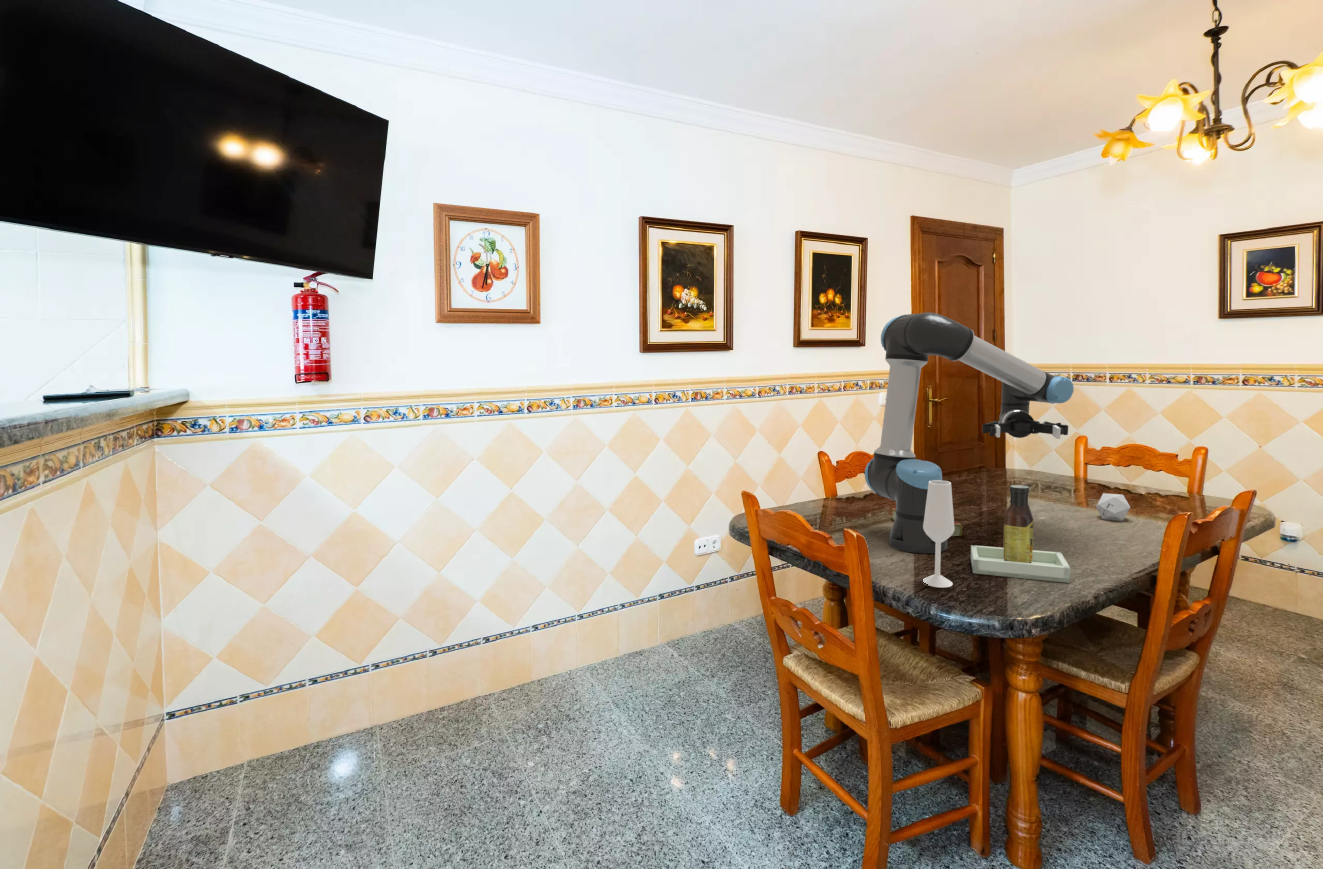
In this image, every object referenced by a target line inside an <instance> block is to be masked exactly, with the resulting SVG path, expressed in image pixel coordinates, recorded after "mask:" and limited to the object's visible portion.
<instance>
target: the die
mask: <svg viewBox="0 0 1323 869" xmlns="http://www.w3.org/2000/svg"><path fill="white" fill-rule="evenodd" d="M1095 508H1096V510H1097V511H1098V513H1099V515H1100V517H1101V519H1102V520H1106V521H1120V522H1123V521H1124V520H1125V519H1126V517H1127V515H1128V512H1129V511H1130V509H1131V506H1130V504H1129V503H1128V500H1127V499H1126V497H1125V496H1124V494H1119V493H1117V494H1116V493H1104V492H1103V493H1102V495H1101V496H1100V498H1099V500H1098V502H1097V504H1096V506H1095Z"/></svg>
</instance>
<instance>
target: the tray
mask: <svg viewBox="0 0 1323 869" xmlns="http://www.w3.org/2000/svg"><path fill="white" fill-rule="evenodd" d="M1003 552H1004V547H999V546H998V547H996V546H986V545H976V544H974V545H972V544H970V564H971V569H972V574H977V575H984V576H985V575H988V576H998V577H1005V578H1016V579H1017V578H1018V579H1025V580H1026V579H1027V580H1036V581H1045V582H1046V581H1048V582H1056V583H1065V584H1066V583H1067V584H1070V583H1071V582H1070V581H1071V567H1070V565H1069V563H1068V561H1067V560H1066V558H1065V557H1064V556H1063V554H1062V552H1058V551H1047V550H1046V551H1044V550H1034V549H1033V559H1032V563H1023V562H1012V561H1004V558H1003Z"/></svg>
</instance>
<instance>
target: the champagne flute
mask: <svg viewBox="0 0 1323 869" xmlns="http://www.w3.org/2000/svg"><path fill="white" fill-rule="evenodd" d="M954 521H955V518H954V504H953V490H952V482H950V481H948V480H943V481H941V480H933V481H929V484H928V492H927V500H926V507H925V515H924V523H923V529H924V531H925V533H926V534H927V535H928V536H929V537H930V538H931V539H932V540H933V541H934V542H936V544H935V553H934V574H932V575H929V576H926V577H925V578H922V579H923V582H924V583H926V584H928V585H927V586H930V587H933V588H950V587H952V586H953V585H954V584H953V582H952V581H951V580H950V579H948V578H946V577H945V576H943V575H942V574H941V558H942V557H941V555H942V554H941V553H942V552H941V543H942V542H944V541H945V540H947V541H948V539H949V538H950V537H952V536H951V535H952V534H953V533H954V530H955V529H954ZM923 582H922V583H923ZM924 583H923V584H924ZM926 584H925V585H926Z"/></svg>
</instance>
